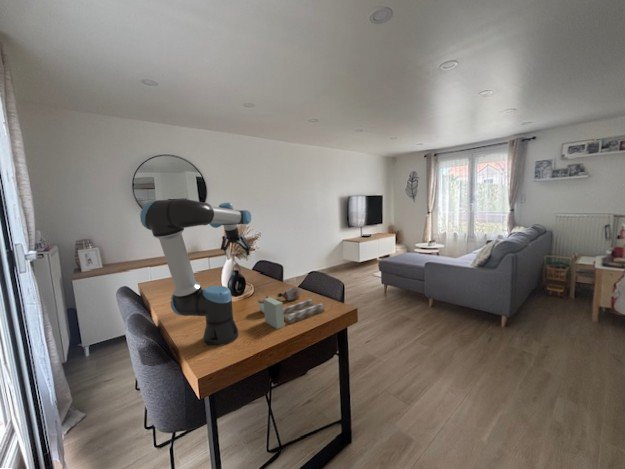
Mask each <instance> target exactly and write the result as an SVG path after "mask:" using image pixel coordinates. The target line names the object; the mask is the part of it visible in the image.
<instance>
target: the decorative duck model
mask: <svg viewBox="0 0 625 469" xmlns="http://www.w3.org/2000/svg"><path fill="white" fill-rule="evenodd" d="M301 293H302V288H299V287H289V288H287V290H286V291H285V292H284V293H282V292H279V293H277V295H276V297H277V299H278V298H281V297H282V298H284V300H287V301H295V300H299V299H300V295H301Z"/></svg>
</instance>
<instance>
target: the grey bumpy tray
mask: <svg viewBox="0 0 625 469" xmlns="http://www.w3.org/2000/svg"><path fill="white" fill-rule="evenodd" d="M324 312H325V308H324V304H323V303H318V304H314V303H313V299H307V300H304V301H302V302H298V303H296V304H293V305H289V306H286V307H283V315H284V322H287V323H289V324H291V325H293V324H296V323H298V322H301V321H303V320H306V319H308V318H312V317H314V316H316V315H319V314H321V313H324Z"/></svg>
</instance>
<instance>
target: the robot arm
mask: <svg viewBox="0 0 625 469" xmlns="http://www.w3.org/2000/svg"><path fill="white" fill-rule="evenodd" d="M139 216H140V222H141V225H142V226H143V227H144V228H145V229H147V230H149V231H151V233H152V236H153V237H154V238H156V239H158V240H159V243H160V246H161V248H162V252H163V254H164V258H165V261H166V264H167V267H168V270H169V273H170V276H171V279H172V282H173V285H174V290H173V291H172V295H171V298H170V308H171V310H172V311H173V313H174V314H177V315H179V316H183V317H189V316H190V317H191V316H193V317H205V321H206V323H205V329H204V332H203V336H202V338H203V343H204V344H205V345H206V346H209V347H220V346H224V345H227V344H230V343H232V342H233V341H235V340H236V339H237V338H239V329H238V327H237V324H236V322H235V320H234V312H233V300H232V299H233V297H232V292H231V290H230V288H229V287H227V286H225V285H224V286H223V285H210V286H206V287H205V288H203V287H202V285H201V283H200V282H198V281H196V277H195V274H194V270H193V268H192V264H191V261H190V258H189V254H188V252H187V251H188V250H187V247H186V245H185V244H186V243H185V241H184V238H183V232H184V230H185V229H186V228H192V227H197V226H207V225H209V226H211V227H212V228H215V229H216V228H217V229H218V228H220V227H221V226H223V229H224V232H225V234H224V235H223V236H222V242H221V245H220V250H221V251H222V250H223V252H224V255H225V256H226V259H227V261H230V260H231V259H232V257H231V253H230V250H229V246H230V245H231V244H238V245H239V246H240V247H241V248H242V249H243V250H244V255H245V259H246V261H249V260H250V250H251V249H252V246H251V245H250V243H249V242H248V241H247V240H246V237H245V235H244V234H242V235H240V234H239V228H238V225H248V224H250V223H251V221H252V214H251V211H250V210H246V209H242V210H238V209H234V208H233V203H231V202H223V203H222V202H221V203H220V204H219V205H218V207H217V206H212V205H211V204H210V203H208V202H202V201H198V200H194V199H193V200H192V199H188V198H187V199H186V198H176V199H175V198H174V199H161V200H160V199H157V200H153V201H149V202H147V203H145V204H144V205H143V207H142V209H141V211H140V214H139Z"/></svg>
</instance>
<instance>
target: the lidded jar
mask: <svg viewBox="0 0 625 469" xmlns="http://www.w3.org/2000/svg"><path fill="white" fill-rule="evenodd" d="M269 297H271V298H273V299H275V300H278V298H277V295H273V294H269V295H268V294H267V295H263V296H260V297H258V298H257V303H258V304H257V305H258V309H259V310H260V311H261V312H262V313H263V314H265V313H264V300H263V299H266V298H269Z"/></svg>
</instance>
